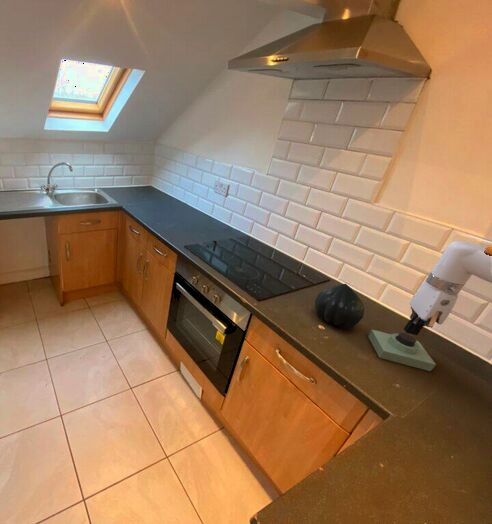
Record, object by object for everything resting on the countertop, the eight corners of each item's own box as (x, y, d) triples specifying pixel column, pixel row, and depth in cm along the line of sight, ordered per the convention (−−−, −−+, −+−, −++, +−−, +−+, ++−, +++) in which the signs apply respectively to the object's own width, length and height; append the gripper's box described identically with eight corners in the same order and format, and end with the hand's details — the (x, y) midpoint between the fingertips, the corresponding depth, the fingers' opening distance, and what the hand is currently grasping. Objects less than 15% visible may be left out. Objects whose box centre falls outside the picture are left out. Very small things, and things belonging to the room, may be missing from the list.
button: (409, 339, 97) (412, 334, 96) (415, 348, 93) (418, 343, 93) (393, 335, 98) (396, 331, 97) (399, 344, 94) (402, 339, 94)
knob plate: (413, 347, 101) (421, 336, 99) (430, 371, 92) (439, 359, 89) (367, 336, 104) (374, 324, 102) (379, 357, 95) (386, 345, 93)
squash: (348, 328, 97) (373, 291, 98) (303, 306, 108) (327, 272, 109) (350, 340, 108) (373, 306, 108) (309, 318, 118) (331, 287, 119)
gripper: (476, 300, 78) (436, 352, 87) (444, 274, 91) (412, 321, 100) (442, 293, 80) (407, 344, 89) (416, 268, 93) (387, 315, 101)
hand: (410, 332), depth 94 cm, fingers closed
